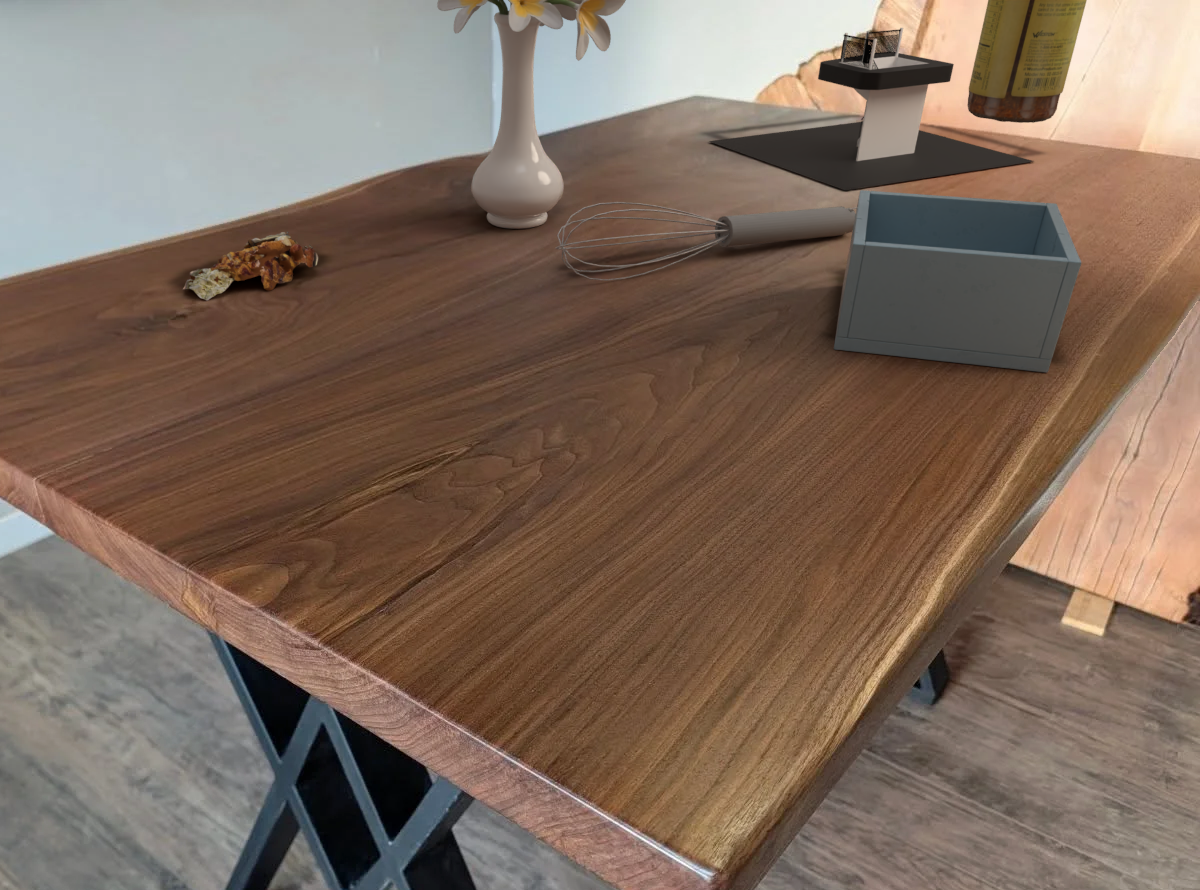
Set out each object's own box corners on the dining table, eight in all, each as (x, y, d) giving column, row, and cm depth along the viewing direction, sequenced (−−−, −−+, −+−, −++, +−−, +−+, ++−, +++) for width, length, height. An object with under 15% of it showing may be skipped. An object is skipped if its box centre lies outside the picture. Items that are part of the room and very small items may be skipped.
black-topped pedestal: (879, 120, 143) (899, 12, 136) (1034, 162, 123) (1068, 38, 116) (707, 142, 134) (719, 27, 127) (845, 191, 114) (868, 58, 107)
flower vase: (581, 251, 98) (593, -54, 84) (414, 225, 106) (400, -59, 92) (632, 215, 108) (651, -65, 94) (476, 194, 115) (472, -68, 101)
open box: (1028, 302, 85) (1056, 203, 81) (1047, 373, 74) (1081, 262, 70) (842, 285, 89) (860, 189, 85) (833, 349, 78) (853, 243, 74)
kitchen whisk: (885, 239, 100) (898, 171, 96) (576, 298, 88) (578, 223, 85) (841, 222, 104) (852, 157, 101) (542, 277, 93) (543, 205, 89)
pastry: (171, 289, 91) (164, 248, 89) (281, 255, 98) (276, 217, 96) (218, 308, 87) (212, 265, 85) (329, 271, 94) (325, 231, 92)
